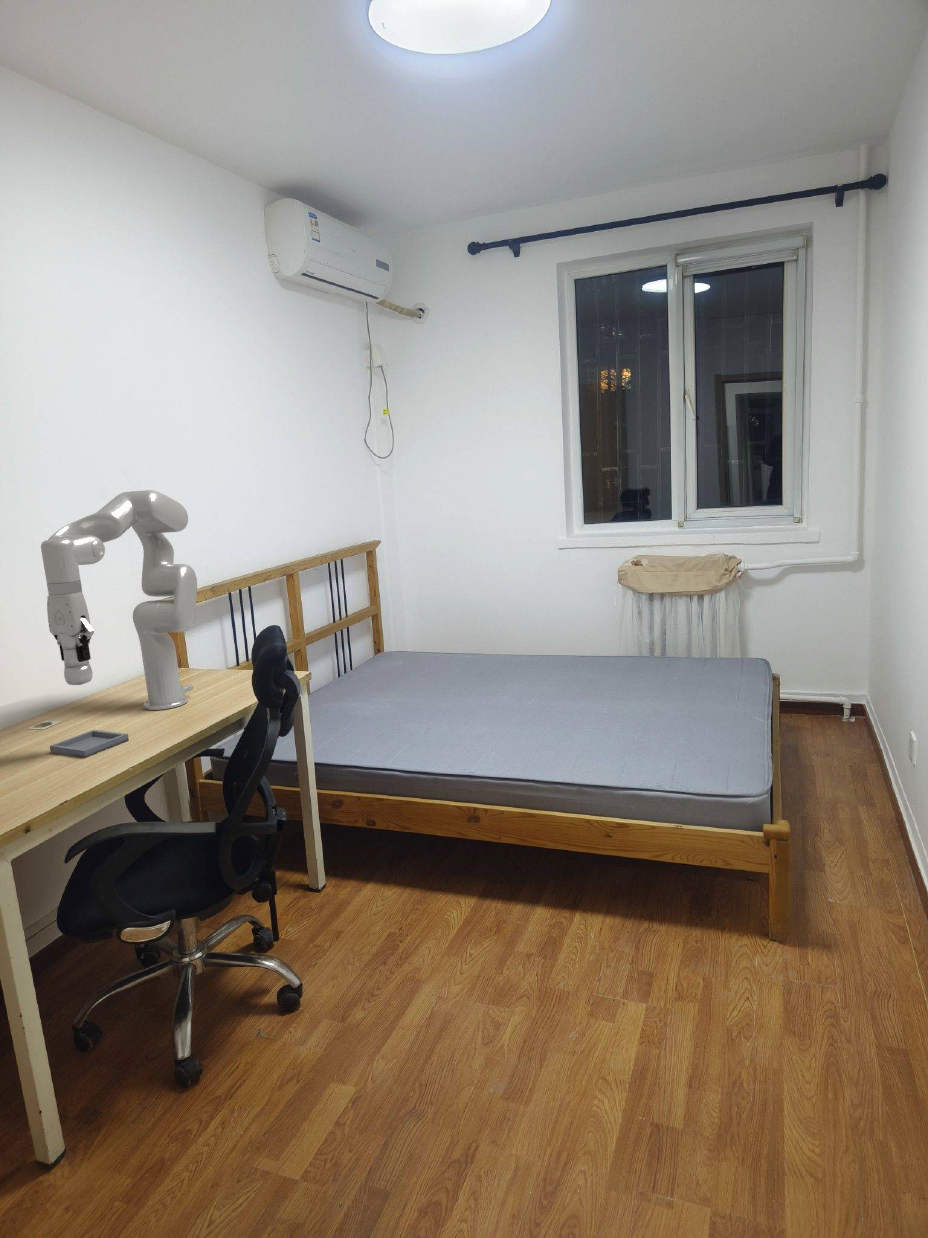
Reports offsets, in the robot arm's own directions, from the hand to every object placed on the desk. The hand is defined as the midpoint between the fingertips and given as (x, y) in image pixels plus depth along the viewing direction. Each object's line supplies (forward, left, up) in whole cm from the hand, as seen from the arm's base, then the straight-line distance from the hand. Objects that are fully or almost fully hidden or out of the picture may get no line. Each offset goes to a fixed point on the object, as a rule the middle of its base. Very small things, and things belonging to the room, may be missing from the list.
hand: (76, 659), depth 198 cm
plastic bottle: (0, 0, -7) cm, 7 cm away
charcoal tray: (0, 0, -23) cm, 23 cm away
